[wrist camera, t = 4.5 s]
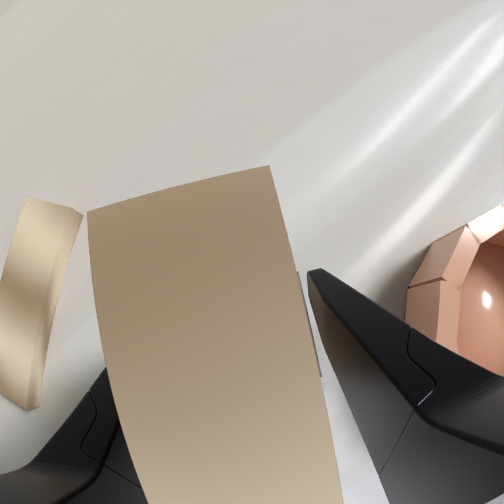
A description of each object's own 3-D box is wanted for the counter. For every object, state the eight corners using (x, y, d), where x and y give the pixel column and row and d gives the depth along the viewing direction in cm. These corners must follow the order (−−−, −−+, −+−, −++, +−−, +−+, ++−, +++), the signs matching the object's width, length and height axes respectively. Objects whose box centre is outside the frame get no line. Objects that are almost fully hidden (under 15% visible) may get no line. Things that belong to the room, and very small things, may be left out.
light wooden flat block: (43, 405, 15) (26, 410, 13) (2, 377, 15) (-15, 380, 13) (87, 217, 17) (71, 208, 15) (42, 205, 17) (27, 196, 16)
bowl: (435, 450, 13) (466, 472, 10) (372, 272, 15) (399, 259, 12) (551, 352, 13) (585, 352, 10) (503, 202, 16) (535, 183, 12)
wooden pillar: (318, 373, 14) (478, 520, 2) (216, 395, 14) (83, 576, 2) (296, 273, 15) (400, 104, 3) (195, 295, 15) (-13, 210, 3)
